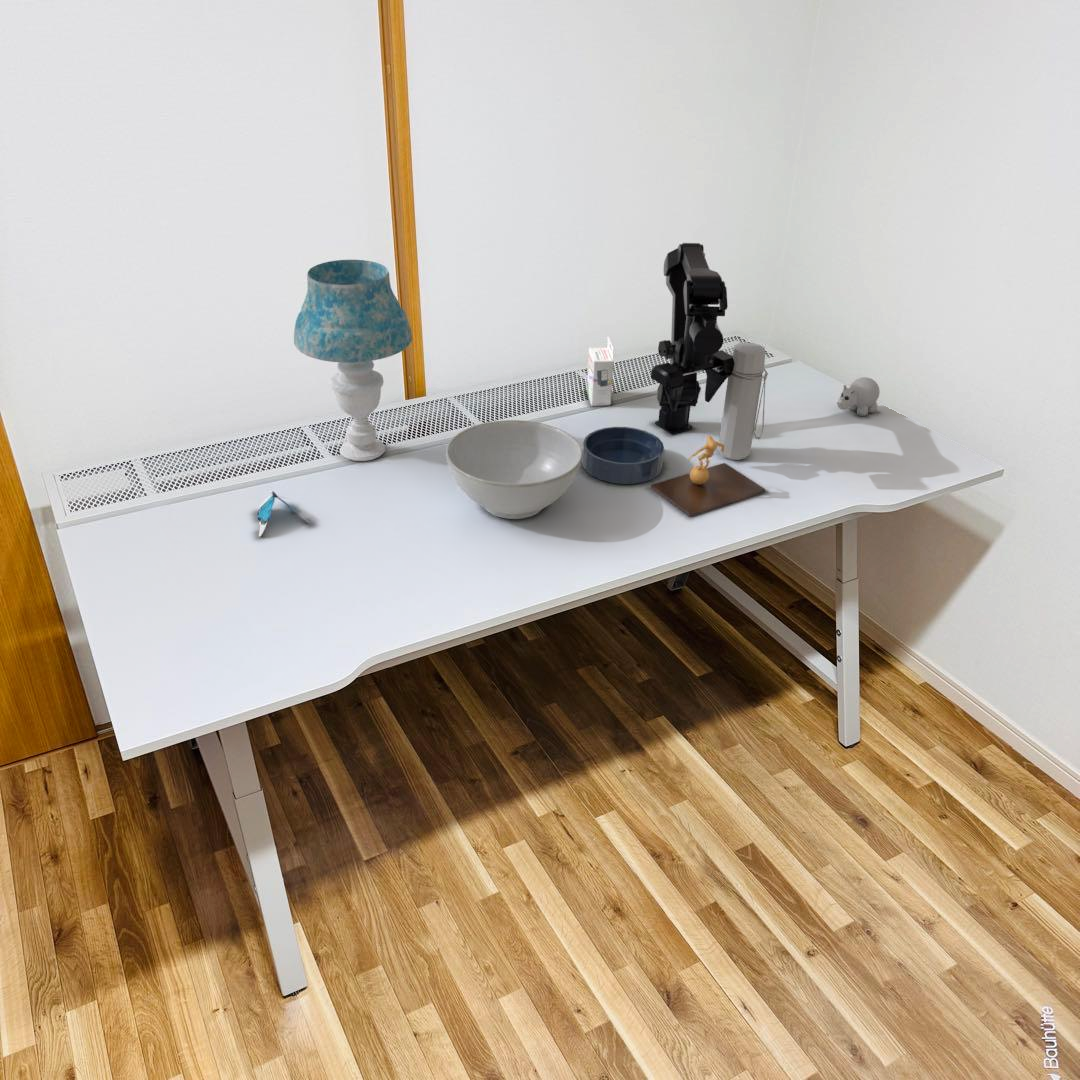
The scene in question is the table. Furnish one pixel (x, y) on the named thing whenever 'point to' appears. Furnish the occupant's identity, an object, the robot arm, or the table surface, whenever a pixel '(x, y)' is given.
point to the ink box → (600, 375)
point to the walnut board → (707, 490)
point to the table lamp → (353, 339)
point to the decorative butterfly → (268, 510)
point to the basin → (622, 455)
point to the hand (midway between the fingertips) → (690, 405)
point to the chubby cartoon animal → (860, 396)
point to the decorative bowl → (514, 465)
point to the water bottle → (742, 401)
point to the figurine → (700, 473)
